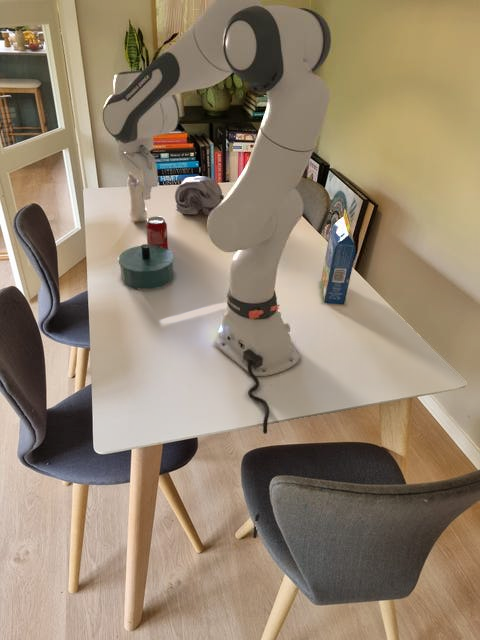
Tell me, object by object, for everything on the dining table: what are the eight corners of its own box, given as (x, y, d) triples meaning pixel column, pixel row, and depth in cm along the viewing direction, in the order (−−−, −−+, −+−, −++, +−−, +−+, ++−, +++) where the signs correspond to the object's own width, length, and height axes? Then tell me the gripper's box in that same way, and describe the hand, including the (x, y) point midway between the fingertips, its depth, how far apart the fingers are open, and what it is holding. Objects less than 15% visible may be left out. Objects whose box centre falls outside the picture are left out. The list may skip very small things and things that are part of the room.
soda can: (164, 258, 150) (162, 225, 143) (145, 255, 151) (142, 222, 144) (170, 249, 156) (169, 217, 149) (152, 246, 157) (149, 214, 149)
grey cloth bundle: (226, 210, 189) (225, 174, 183) (221, 219, 173) (221, 179, 167) (179, 210, 190) (177, 173, 184) (170, 218, 174) (168, 178, 168)
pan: (180, 283, 138) (180, 265, 134) (131, 295, 131) (129, 276, 128) (161, 261, 149) (160, 243, 145) (115, 271, 142) (113, 253, 138)
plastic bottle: (129, 217, 176) (123, 166, 164) (146, 216, 177) (142, 165, 166) (131, 224, 171) (125, 171, 159) (149, 222, 173) (144, 170, 161)
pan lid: (182, 267, 135) (182, 252, 132) (128, 279, 128) (127, 263, 125) (161, 244, 146) (160, 230, 143) (111, 254, 139) (109, 239, 136)
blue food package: (340, 284, 142) (355, 209, 127) (344, 305, 132) (362, 226, 118) (320, 282, 142) (333, 207, 128) (323, 303, 133) (338, 225, 118)
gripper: (162, 150, 110) (165, 204, 118) (134, 130, 124) (139, 179, 132) (137, 153, 108) (142, 208, 116) (112, 132, 122) (118, 182, 130)
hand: (140, 192), depth 124 cm, fingers open, 8 cm apart
